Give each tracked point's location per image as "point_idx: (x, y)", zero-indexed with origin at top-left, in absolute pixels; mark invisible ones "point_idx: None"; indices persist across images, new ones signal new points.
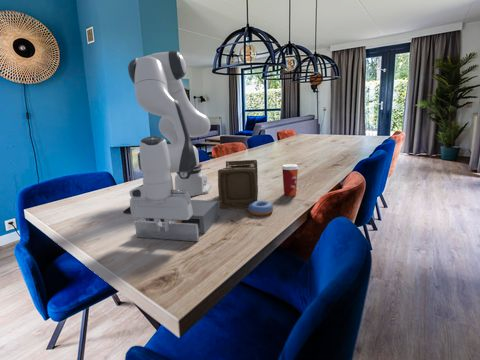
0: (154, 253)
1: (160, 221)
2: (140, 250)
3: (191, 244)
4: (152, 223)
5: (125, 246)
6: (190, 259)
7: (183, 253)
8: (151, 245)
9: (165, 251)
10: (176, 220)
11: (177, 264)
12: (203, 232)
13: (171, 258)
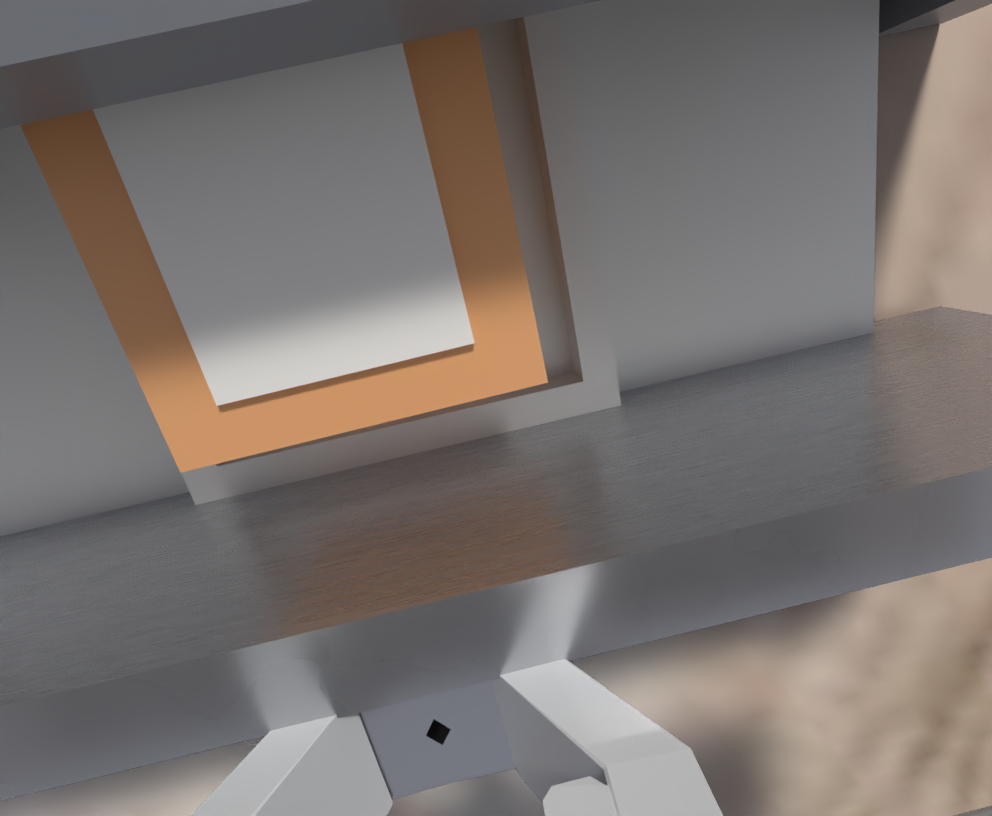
0: None
1: (292, 791)
2: None
3: None
4: (42, 771)
5: (49, 806)
6: (975, 699)
7: (856, 646)
8: None
9: (631, 694)
10: (395, 119)
11: (886, 798)
12: (944, 17)
13: (779, 758)
